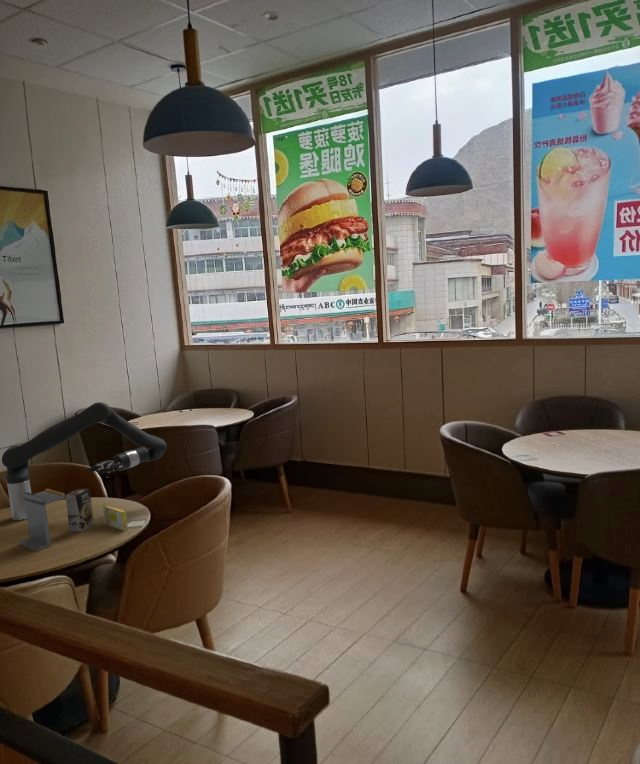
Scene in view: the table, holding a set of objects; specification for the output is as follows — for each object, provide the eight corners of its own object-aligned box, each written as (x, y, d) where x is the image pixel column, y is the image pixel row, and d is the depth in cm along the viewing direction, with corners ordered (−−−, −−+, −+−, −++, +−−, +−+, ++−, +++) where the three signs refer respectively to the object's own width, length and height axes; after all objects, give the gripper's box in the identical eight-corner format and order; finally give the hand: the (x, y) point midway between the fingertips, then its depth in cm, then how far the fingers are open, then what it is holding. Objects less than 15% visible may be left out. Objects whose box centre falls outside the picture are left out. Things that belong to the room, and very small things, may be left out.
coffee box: (82, 531, 259) (78, 494, 257) (69, 531, 260) (64, 494, 258) (94, 523, 268) (90, 488, 266) (81, 523, 269) (77, 488, 267)
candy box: (128, 530, 257) (126, 511, 256) (123, 531, 256) (121, 512, 255) (108, 522, 268) (106, 504, 267) (104, 524, 267) (101, 505, 266)
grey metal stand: (18, 544, 250) (11, 496, 247) (52, 532, 261) (46, 486, 258) (35, 551, 241) (28, 502, 238) (70, 538, 252) (64, 491, 250)
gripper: (116, 450, 282) (83, 461, 271) (133, 453, 273) (100, 465, 261) (120, 466, 284) (87, 478, 272) (136, 469, 274) (103, 481, 262)
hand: (93, 471), depth 266 cm, fingers open, 8 cm apart
